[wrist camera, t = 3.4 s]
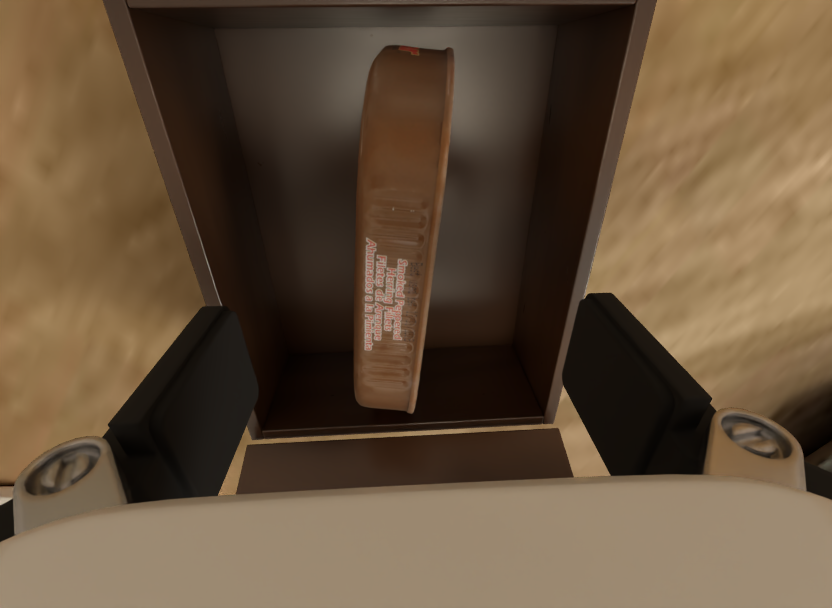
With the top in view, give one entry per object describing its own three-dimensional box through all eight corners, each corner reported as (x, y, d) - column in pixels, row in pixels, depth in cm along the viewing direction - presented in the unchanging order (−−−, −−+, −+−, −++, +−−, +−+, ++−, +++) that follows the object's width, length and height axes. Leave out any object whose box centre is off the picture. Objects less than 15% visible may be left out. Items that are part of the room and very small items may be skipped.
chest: (200, 12, 16) (94, -21, 10) (569, 9, 16) (663, -24, 11) (283, 356, 25) (251, 440, 19) (517, 345, 26) (554, 424, 20)
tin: (413, 341, 24) (423, 457, 17) (362, 338, 24) (349, 455, 17) (447, 53, 16) (490, 41, 9) (372, 44, 16) (357, 24, 9)
